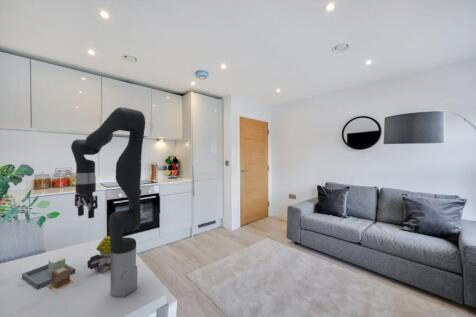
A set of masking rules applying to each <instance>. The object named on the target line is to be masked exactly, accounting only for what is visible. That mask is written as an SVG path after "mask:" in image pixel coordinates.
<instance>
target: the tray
mask: <svg viewBox="0 0 476 317" xmlns="http://www.w3.org/2000/svg"><path fill="white" fill-rule="evenodd" d="M65 267H67V268H69V269H70V276H72V275H74V274H76V268H74V267H73V266H71V265H69V264H68V263H67V264H66V263H65ZM21 279H23V281H25V282H26V283H28V284H29V285H31V286H32V287H33V288H34V289H36V290H41V289H42V288H44V287H46V286H48V285H50V284H52V275H50V274H49V263H48V264H45V265H42V266H39V267H36V268H34V269H31V270H28V271H26V272H23V273H21Z"/></svg>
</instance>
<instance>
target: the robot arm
mask: <svg viewBox="0 0 476 317" xmlns="http://www.w3.org/2000/svg"><path fill="white" fill-rule="evenodd" d="M145 128H146V118H145V113H143V111H140V110H136V109H133V108H129V107H123V106H122V107H116V109H114V110H113V111H112V112H111V113H110V114H109V116H108V117H107V118H106V119H105V120H104V122H102V124H101V125H100V126H99V127H98V128H97V129H96V130H94V131H93V132H91V133H90V134H89V135H88V136H86V138H85V139H80V138H79V139H78V138H77V139H75V140H73V141H72V143H71V145H70V147H71V152H72V155H73V157H74V161H75V164H76V167H75V170H76V171H75V174H76V175H75V195H74V206H75V207H76V208H77V216H78V217H82V216H84V214H85V207H86V208H87V218H88V219H93V218H95V210H97V209H99V208H98V207H99V206H98V195H96V194H95V195H94V194H93V193H96V191H97V188H96V187H97V178H96V177H97V176H96V162H95V161H94V160H93V159H87V158H86V157H85V156H94V155H97V154H99V153H100V151H101V149H102V148H103V147H105V146H106V145H107V144H109V143H110V142H111V141H112V139H113V136H114V134H113V133H115V132H118V131H122V132H129V135H128V143H127V145H126V147H125V148H124V150H123V151H122V153H121V154H120V155H119V157H118V159H117V161H116V164H115V181H116V183H117V184H118V186H119V189H121V190H122V191H123V194H125V196H126V198H127V201H128V209H124V210H123V209H122V210H119V211H115V212H112V213H111V214H110V216H109V219H108V220H109V221H108V223H109V224H108V225H109V226H108V227H109V237H110V246H111V269H110V291H109V292H110V295H111V296H112V297H114V298H115V297H116V298H120V297H122V298H125V297H127V296H128V295H130V294H131V293H132V292H134V291H135V290H137V289H138V266H137V240H136V238H133V237H126V236H125V237H124V236H123V234H125V233H130V232H134V231H136V230H138V229H139V228H140V225H141V222H142V221H141V220H142V216H141V215H142V214H141V213H142V211H141V179H142V156H143V155H142V152H143V142H144V137H145V136H144V135H145V131H146V130H145Z"/></svg>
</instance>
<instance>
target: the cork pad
mask: <svg viewBox="0 0 476 317" xmlns="http://www.w3.org/2000/svg"><path fill="white" fill-rule="evenodd" d="M73 283H75V281H74V280H72V279H70V283H68V284H66V285H64V286H62V287H59V288H57V289H56V288H55V287H53V286H52V284H49V285H47V286H45V287H46V288H48V289H49V290H50V291H52V292H53V293H55V292H57V291H59V290H61V289H63V288H65V287H67V286H70V285H72V284H73Z"/></svg>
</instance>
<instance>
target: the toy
mask: <svg viewBox="0 0 476 317" xmlns="http://www.w3.org/2000/svg"><path fill="white" fill-rule="evenodd" d="M96 251H98V252H99V254H95V255H93V256H90V257H89V259H88V260H87V261H86V262H87V265H86V266H87V269H90V270H94V269H95V271H96V272H98V273H101V274H102V273H104V272H106V271H109V270H111V246H110V236H108V235H107V236H104V237H103V239H102V240H101V241H100V242H99V244H98V245H97V246H96Z"/></svg>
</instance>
